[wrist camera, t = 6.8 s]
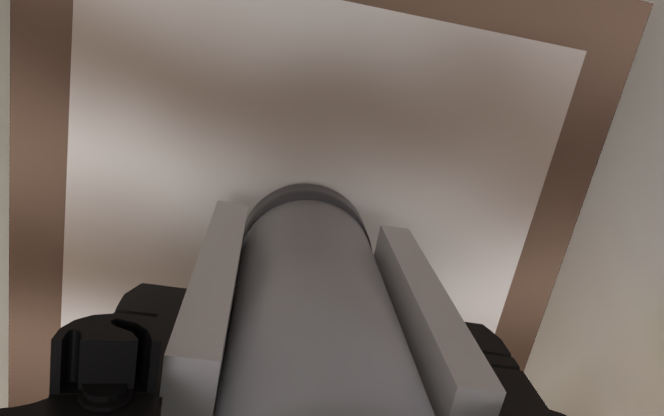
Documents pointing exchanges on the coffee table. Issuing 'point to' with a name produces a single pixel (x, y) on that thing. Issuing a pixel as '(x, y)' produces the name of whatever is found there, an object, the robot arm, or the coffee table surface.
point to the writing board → (302, 140)
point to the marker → (314, 317)
